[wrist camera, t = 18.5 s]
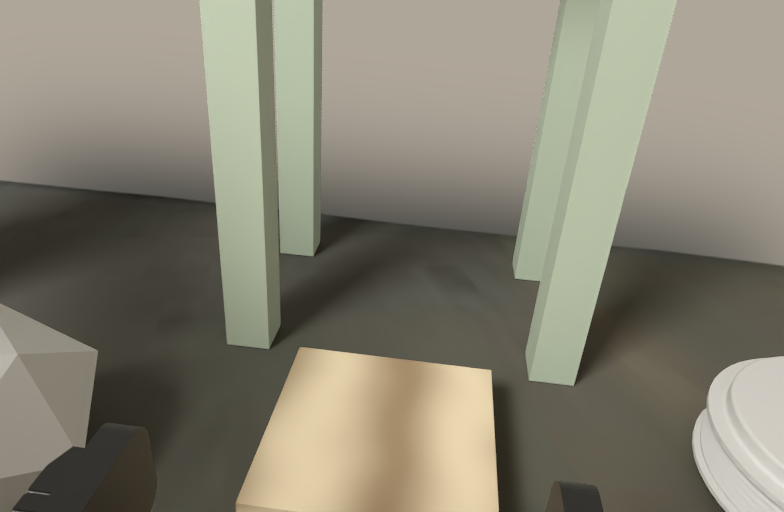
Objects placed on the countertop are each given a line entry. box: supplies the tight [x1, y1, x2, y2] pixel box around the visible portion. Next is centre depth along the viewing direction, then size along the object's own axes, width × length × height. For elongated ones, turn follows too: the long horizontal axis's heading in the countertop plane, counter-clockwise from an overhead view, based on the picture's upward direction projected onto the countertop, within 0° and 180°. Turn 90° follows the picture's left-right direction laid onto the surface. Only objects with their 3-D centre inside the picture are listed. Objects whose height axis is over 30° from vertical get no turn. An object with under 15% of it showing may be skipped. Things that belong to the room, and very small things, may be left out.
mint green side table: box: [199, 0, 677, 386], centre depth 33 cm, size 20×14×32 cm
